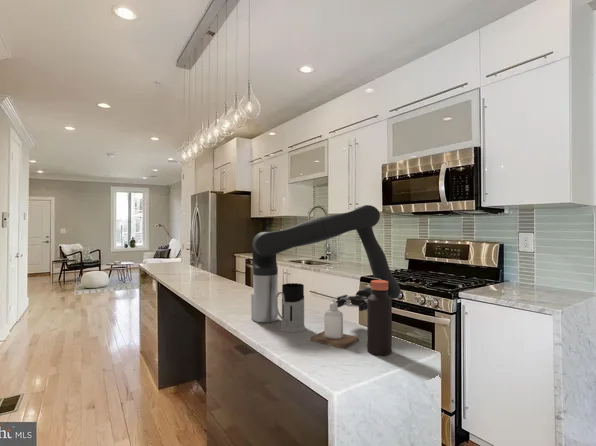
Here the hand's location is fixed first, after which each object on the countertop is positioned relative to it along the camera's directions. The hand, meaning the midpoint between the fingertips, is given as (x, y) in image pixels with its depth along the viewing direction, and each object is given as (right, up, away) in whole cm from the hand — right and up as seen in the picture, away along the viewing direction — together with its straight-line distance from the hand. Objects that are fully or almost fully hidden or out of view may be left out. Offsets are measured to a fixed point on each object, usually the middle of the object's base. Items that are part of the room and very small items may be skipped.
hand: (348, 306), depth 114 cm
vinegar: (+6, -9, -17) cm, 20 cm away
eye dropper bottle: (-6, -8, -7) cm, 12 cm away
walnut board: (-5, -9, -7) cm, 13 cm away
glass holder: (-20, -9, +3) cm, 22 cm away
